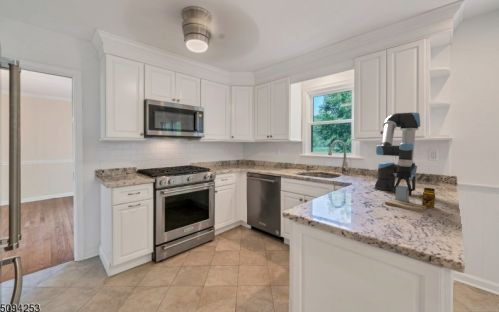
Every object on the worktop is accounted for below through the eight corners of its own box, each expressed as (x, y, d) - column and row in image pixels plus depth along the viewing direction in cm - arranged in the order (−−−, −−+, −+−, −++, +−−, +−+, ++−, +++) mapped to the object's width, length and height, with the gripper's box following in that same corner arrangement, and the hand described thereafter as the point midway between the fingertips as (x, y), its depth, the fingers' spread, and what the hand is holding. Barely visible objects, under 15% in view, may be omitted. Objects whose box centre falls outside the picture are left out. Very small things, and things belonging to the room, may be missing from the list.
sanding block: (398, 199, 156) (399, 184, 155) (408, 201, 151) (410, 186, 150) (394, 201, 150) (396, 186, 150) (405, 203, 146) (406, 187, 145)
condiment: (423, 207, 137) (425, 188, 136) (417, 204, 145) (419, 186, 144) (437, 209, 135) (439, 189, 134) (431, 205, 143) (432, 187, 142)
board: (391, 201, 150) (391, 199, 150) (426, 208, 136) (426, 205, 136) (384, 204, 143) (385, 201, 143) (421, 212, 128) (421, 209, 128)
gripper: (386, 164, 154) (384, 197, 156) (420, 167, 139) (417, 203, 141) (390, 164, 159) (388, 195, 160) (423, 167, 144) (420, 201, 146)
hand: (402, 199), depth 151 cm, fingers closed on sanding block, 6 cm apart
